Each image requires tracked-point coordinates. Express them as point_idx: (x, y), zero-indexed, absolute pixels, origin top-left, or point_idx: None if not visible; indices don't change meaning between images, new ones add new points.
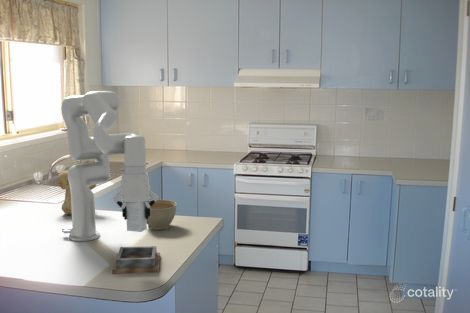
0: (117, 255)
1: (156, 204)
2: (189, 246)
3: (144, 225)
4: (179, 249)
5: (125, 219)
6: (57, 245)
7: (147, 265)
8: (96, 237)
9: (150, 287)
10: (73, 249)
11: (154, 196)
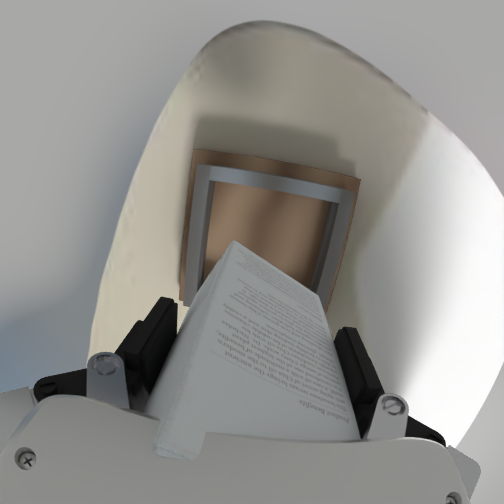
0: (343, 241)
1: None
2: (106, 340)
3: (203, 286)
4: (129, 329)
5: (346, 327)
6: (426, 403)
7: (230, 167)
8: None
9: (239, 37)
10: (408, 384)
11: (7, 428)
